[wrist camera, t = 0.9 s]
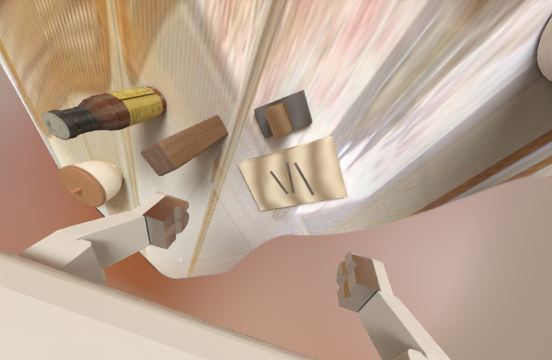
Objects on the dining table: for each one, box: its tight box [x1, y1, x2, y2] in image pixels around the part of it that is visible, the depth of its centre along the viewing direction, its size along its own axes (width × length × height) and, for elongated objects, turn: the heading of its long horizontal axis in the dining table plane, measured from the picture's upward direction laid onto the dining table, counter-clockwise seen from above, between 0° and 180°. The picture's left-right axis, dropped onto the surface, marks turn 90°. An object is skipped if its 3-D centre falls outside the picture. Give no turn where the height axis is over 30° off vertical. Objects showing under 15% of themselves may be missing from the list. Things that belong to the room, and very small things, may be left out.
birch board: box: [238, 136, 347, 211], centre depth 45 cm, size 22×14×2 cm, turn 111°
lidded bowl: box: [58, 160, 123, 207], centre depth 54 cm, size 13×13×11 cm
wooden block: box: [141, 116, 228, 176], centre depth 37 cm, size 9×4×18 cm, turn 116°
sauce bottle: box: [42, 87, 166, 140], centre depth 36 cm, size 6×6×20 cm
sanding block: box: [254, 90, 312, 138], centre depth 36 cm, size 10×6×7 cm, turn 111°
